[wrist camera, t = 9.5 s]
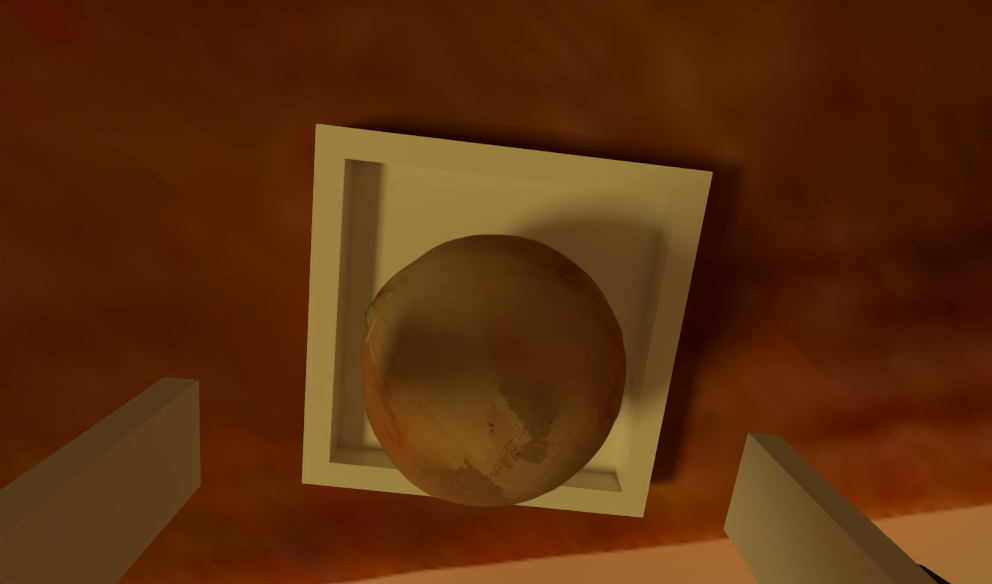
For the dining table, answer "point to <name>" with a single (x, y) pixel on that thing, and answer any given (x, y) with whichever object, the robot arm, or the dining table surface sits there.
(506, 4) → the dining table surface
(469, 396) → the onion
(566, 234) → the dish
